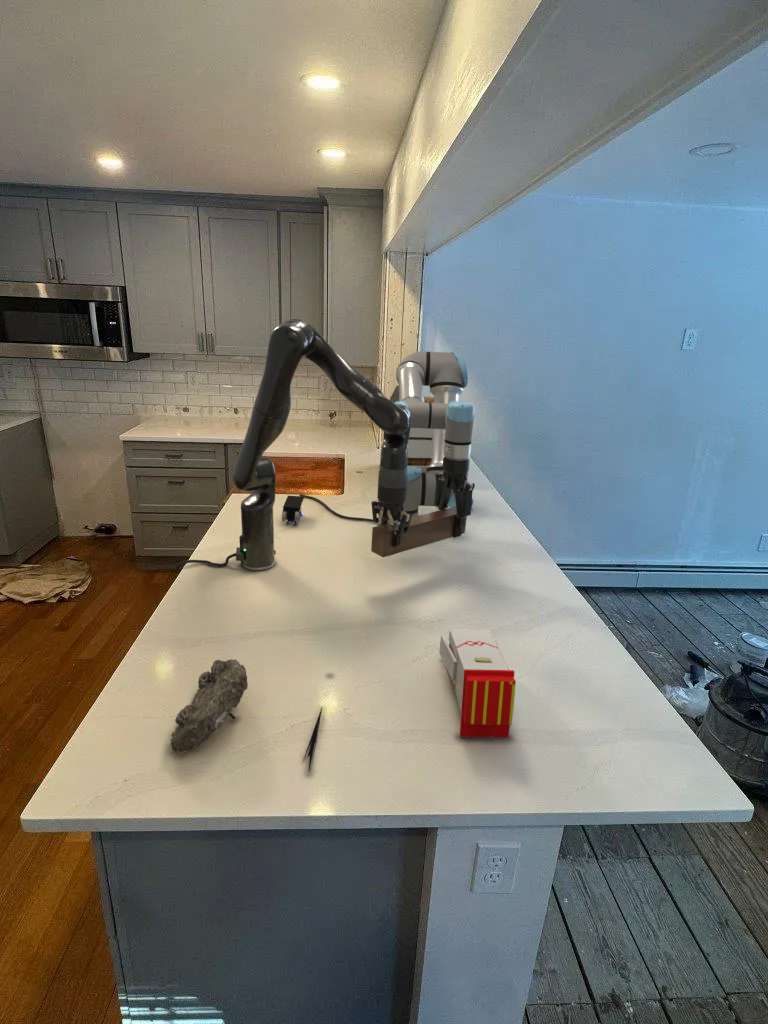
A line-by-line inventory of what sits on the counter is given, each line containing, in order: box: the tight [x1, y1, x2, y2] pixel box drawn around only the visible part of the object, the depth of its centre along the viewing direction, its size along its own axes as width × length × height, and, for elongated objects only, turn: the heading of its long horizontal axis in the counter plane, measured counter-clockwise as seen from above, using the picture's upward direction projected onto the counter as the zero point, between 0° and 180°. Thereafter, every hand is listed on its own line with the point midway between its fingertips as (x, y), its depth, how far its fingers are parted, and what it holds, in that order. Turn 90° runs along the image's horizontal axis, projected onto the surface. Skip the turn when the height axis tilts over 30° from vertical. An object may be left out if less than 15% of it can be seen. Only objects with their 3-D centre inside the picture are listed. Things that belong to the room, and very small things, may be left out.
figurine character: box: [281, 495, 305, 526], centre depth 206 cm, size 7×8×15 cm
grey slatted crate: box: [389, 384, 434, 467], centre depth 268 cm, size 34×33×41 cm
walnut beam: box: [370, 507, 468, 558], centre depth 160 cm, size 5×32×7 cm, turn 130°
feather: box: [301, 673, 332, 771], centre depth 108 cm, size 2×28×2 cm
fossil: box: [170, 658, 249, 753], centre depth 106 cm, size 22×10×15 cm
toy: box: [438, 628, 517, 738], centre depth 117 cm, size 12×13×30 cm
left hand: (389, 542), depth 152 cm, fingers closed on walnut beam, 5 cm apart
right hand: (449, 533), depth 168 cm, fingers closed on walnut beam, 5 cm apart
